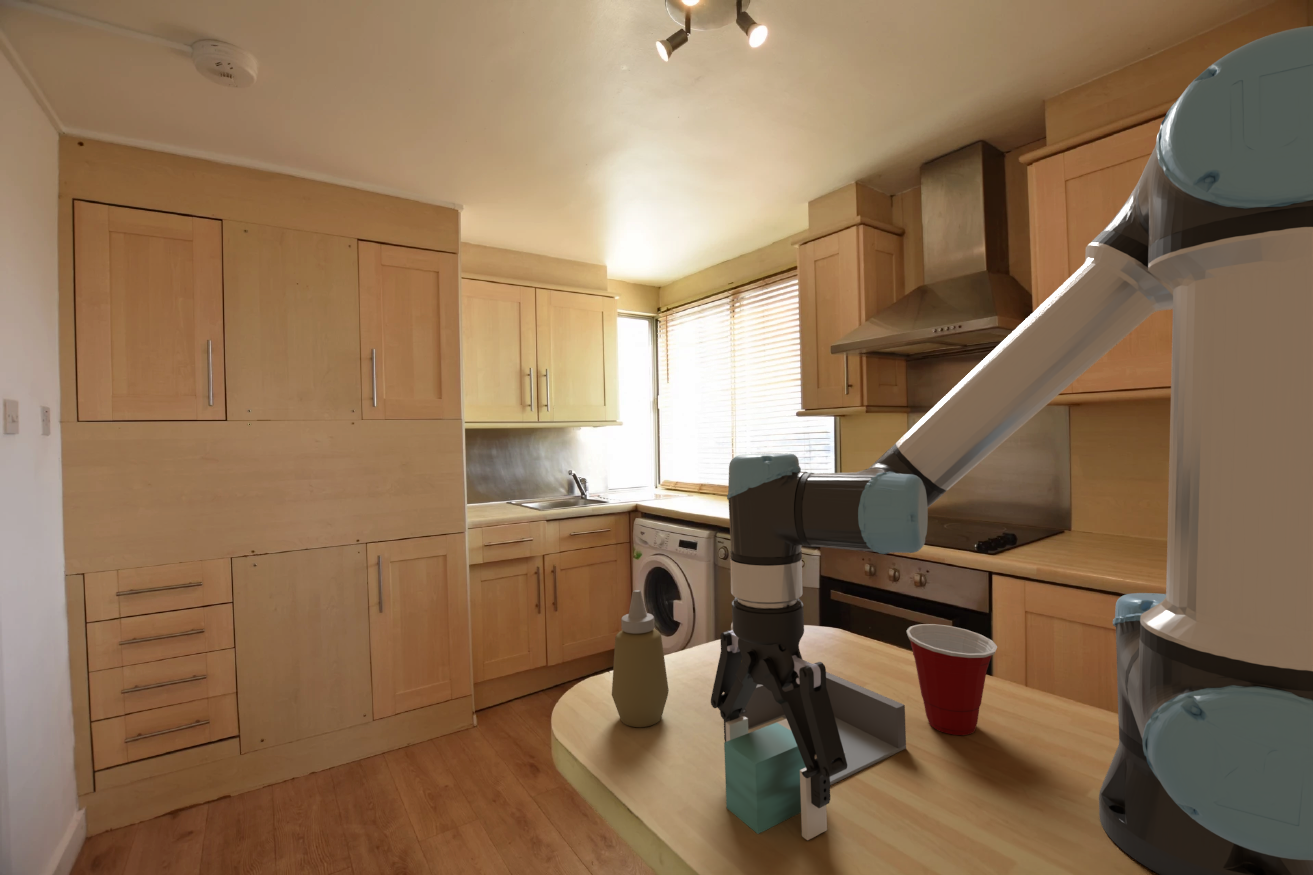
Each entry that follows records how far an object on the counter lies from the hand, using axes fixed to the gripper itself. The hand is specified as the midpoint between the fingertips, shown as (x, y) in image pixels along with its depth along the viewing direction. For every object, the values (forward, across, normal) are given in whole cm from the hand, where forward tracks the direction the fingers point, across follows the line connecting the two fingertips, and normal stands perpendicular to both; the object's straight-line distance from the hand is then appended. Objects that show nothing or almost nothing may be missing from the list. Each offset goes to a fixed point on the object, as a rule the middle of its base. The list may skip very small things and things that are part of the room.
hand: (773, 802), depth 63 cm
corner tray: (0, +7, -14) cm, 15 cm away
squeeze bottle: (0, +25, +2) cm, 25 cm away
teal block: (0, 0, 0) cm, 0 cm away
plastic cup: (0, -1, -31) cm, 31 cm away
